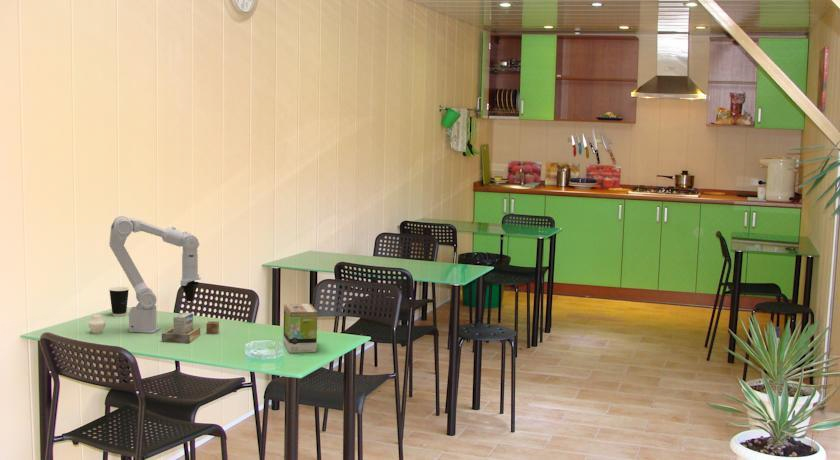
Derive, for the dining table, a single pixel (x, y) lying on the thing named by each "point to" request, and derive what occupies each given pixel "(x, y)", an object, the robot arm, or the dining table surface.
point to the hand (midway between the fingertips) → (190, 301)
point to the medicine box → (183, 323)
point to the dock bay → (180, 336)
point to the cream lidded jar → (97, 324)
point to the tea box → (300, 328)
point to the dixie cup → (119, 300)
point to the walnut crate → (212, 327)
